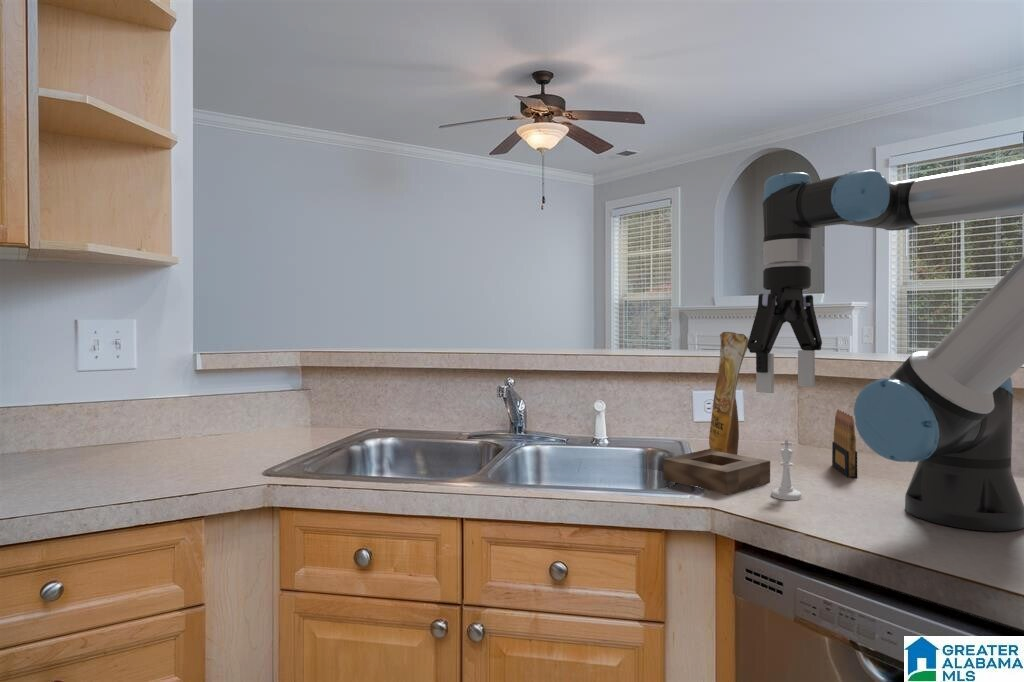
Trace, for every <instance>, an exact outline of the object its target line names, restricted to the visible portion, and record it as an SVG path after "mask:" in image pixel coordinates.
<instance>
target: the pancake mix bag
mask: <svg viewBox="0 0 1024 682" xmlns="http://www.w3.org/2000/svg"><path fill="white" fill-rule="evenodd" d="M719 337H720V338H719V339H720V351H719V363H718V373H717V377H716V378H717V379H716V383H715V389H714V396H713V400H712V401H713V402H712V409H711V411H712V412H711V417H710V419H711V420H710V425H709V433H708V434H709V435H708V436H709V437H708V445H709V450H713V451H718V452H724V453H729V454H735V455H738V451H739V439H740V438H739V437H740V431H739V430H740V429H739V428H740V427H739V426H740V425H739V415H738V414H739V413H738V411H739V410H738V403H737V399H736V392H737V391H736V389H737V386H738V380H739V375H740V369H741V366H742V363H743V360H744V358H745V355H746V352H747V349H748V347H747V344H748V341H749V337H747V336H746V335H745V334H744V333H736V332H733V331H723V332H721V333H720V334H719Z"/></svg>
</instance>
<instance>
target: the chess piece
mask: <svg viewBox="0 0 1024 682" xmlns="http://www.w3.org/2000/svg"><path fill="white" fill-rule="evenodd" d="M780 445H781V446H784V448H781V449H780V450H779V451H780V452H779V453H780V455H781V458H782V460H783V461H780V463H779V465H780V466H783V467H782V477H781V483H780V485H779V486H778V487H777V488H773V489H772V490H771V493H770V495H771V497H772V498H775V499H777V500H785V501H800V500H801V499H803V496H802V493H801V492H800V491H799V490H797V489H794V488H795V487H793V485H792V480H791V479H792V478H791V471H790V467H793V466H794V464H793V462H790V461H791V458H792V456H793V450H792V449H791V448H789V446H791V447H792V446H793V442H789V439H788V438H784V441H783V442H782V441H781V442H780Z"/></svg>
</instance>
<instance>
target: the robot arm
mask: <svg viewBox="0 0 1024 682" xmlns="http://www.w3.org/2000/svg"><path fill="white" fill-rule="evenodd" d="M811 177H812V176H810V174H809V173H806V172H797V171H796V172H794V171H793V172H787V173H779V174H776V175H772V176H770V177H769V178H767V179H766V181H765V182H764V184H763V199H762V204H761V205H762V215H763V250H762V254H763V265H764V266H766V268H764V269H763V272H762V273H763V274H762V277H763V278H762V279H763V280H762V287H763V289H764V290H766V291H769V293H759V295H758V297H757V298H758V301H757V309H756V311H755V312H756V314H755V316H754V319H753V322H752V323H753V324H752V327H751V331H750V334H749V337H748V339H749V341H748V344H747V347H748V348H747V349H748V351H749V353H751V354H752V353H753V354H755V371H756V372H755V379H756V381H755V383H756V385H755V387H756V388H755V392H756V393H762V394H763V393H765V394H774V393H775V386H774V385H775V370H774V368H775V354H774V353H771V351H772V349H773V346H774V344H775V342H776V340H777V338H778V335H779V333H780V330H781V328H782V326H783V325H784V323H789V324H790V326H791V329H792V331H793V333H794V336H795V338H796V340H797V342H798V345H799V347H800V349H799V350H797V387H805V388H815V386H816V385H815V383H816V380H815V377H816V376H815V375H816V374H815V373H816V370H815V369H816V351H821V350H822V344H823V340H822V336H821V332H820V327H819V324H818V320H817V316H816V313H815V308H814V306H815V305H814V296H813V294H803V290H806V289H809V288H811V286H812V283H811V282H812V275H811V273H812V270H811V268H810V266H808V265H809V264H811V263H812V243H811V242H812V229H814V228H815V229H817V228H822V227H828V226H829V227H830V226H838V225H839V226H840V225H845V226H854V227H863V228H864V227H867V228H874V229H881V230H882V229H883V230H885V231H906V230H911V229H913V228H914V227H918V226H923V225H931V224H932V225H933V224H941V223H942V224H944V223H950V222H959V221H960V222H961V221H970V220H971V221H972V220H978V219H988V218H997V217H999V218H1000V217H1007V216H1008V217H1009V216H1016V215H1024V159H1021V160H1015V161H1010V162H1004V163H997V164H993V165H987V166H986V165H985V166H981V167H975V168H969V169H962V170H958V171H957V170H956V171H951V172H945V173H940V174H935V175H929V176H923V177H919V178H911V179H905V180H901V181H893V182H892V181H891V182H890V181H887V179H886V177H884V176H883V175H882V174H881V172H880V171H877V170H874V169H866V170H861V171H855V170H853V171H849V172H848V173H844V174H841V175H837V176H833V177H828V178H824V179H819V180H815V181H812V178H811ZM1023 366H1024V255H1023V256H1022V257H1021V258H1020V259H1019V261H1017V262H1016V263H1015V264H1014V266H1013V267H1012V268H1011V269H1010V270H1009V271H1008V272H1006V274H1005V275H1004V276H1003V277H1002V278H1001V279H1000V280H999V281H998V282H997V283H996V284H995V285H994V286H993V287H992V288H991V289H990V290H989V292H987V293H986V294H985V296H983V298H982V299H980V301H978V302H977V304H976V305H974V307H973V308H972V309H970V311H969V312H968V313H967V314H966V315H965V316H964V317H963V318H962V319H961V320H960V321H959V322H958V323H957V324H956V325H955V326H954V328H953V329H951V331H950V332H949V333H948V334H947V335H945V337H944V338H942V340H941V341H940V342H939V343H938V344H937V345H936V346H935V347H934V348H933V349H932V350H921V351H920V350H919V351H915V352H913V353H911V354H910V356H908V358H906V359H905V361H904V362H903V363H901V365H900V366H899V367H898V368H897V369H896V370H895V371H894V372H893V373H892V374H891V375H890V376H889V377H886V378H884V377H883V378H877V380H875V381H872V382H870V383H869V384H866V386H864V387H863V388H862V389H861V390H860V392H858V395H857V397H856V399H855V400H854V401H855V402H854V405H853V406H854V407H853V416H854V419H855V421H854V426H855V427H856V431H857V432H858V434H859V436H860V438H861V439H862V440H863V443H864V444H865V445H867V447H869V449H871V450H872V451H873V452H874V453H876V455H879V456H880V457H883V458H884V459H887V460H890V461H894V462H898V463H899V462H900V463H905V462H909V463H916V462H917V465H916V467H915V470H914V472H913V474H912V476H911V477H912V478H911V480H910V482H909V484H908V486H907V489H906V492H905V497H904V509H905V511H906V512H907V513H909V514H910V515H912V516H914V517H916V518H919V519H921V520H924V521H927V522H931V523H934V524H939V525H943V526H948V527H953V528H959V529H964V530H965V529H966V530H973V531H983V532H1011V531H1019V530H1021V529H1023V528H1024V502H1023V500H1022V497H1021V494H1020V491H1019V489H1018V486H1017V484H1016V481H1015V478H1014V475H1013V472H1012V447H1013V446H1012V444H1013V442H1012V441H1013V409H1014V408H1013V402H1014V398H1015V393H1014V391H1013V384H1012V376H1013V374H1015V373H1016V372H1018V370H1019V369H1021V367H1023Z"/></svg>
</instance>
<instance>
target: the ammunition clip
mask: <svg viewBox="0 0 1024 682" xmlns="http://www.w3.org/2000/svg"><path fill="white" fill-rule="evenodd" d="M855 427H856V425H855V421H854V418H853V415H850V414H849V413H848V414H847V412H844V411H842V410H840V409H837V410H836V412H835V415H834V427H833V441H832V442H831V443H832V446H831V447H832V449H831V450H832V451H831V452H832V454H831V456H832V457H831V459H832V460H831V466H832V467H833V468H834V469H836V470H837V471H838V472H839V473H841V474H842V475H843V476H844V477H846V478H849V479H858V451H857V449H856V448H857V443H856V442H857V439H856V431H855Z"/></svg>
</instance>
